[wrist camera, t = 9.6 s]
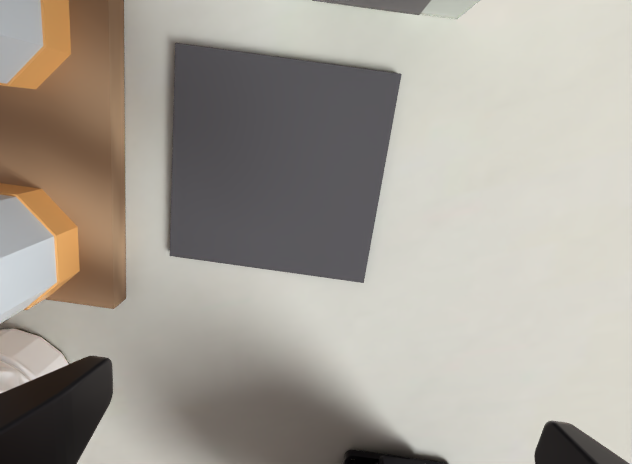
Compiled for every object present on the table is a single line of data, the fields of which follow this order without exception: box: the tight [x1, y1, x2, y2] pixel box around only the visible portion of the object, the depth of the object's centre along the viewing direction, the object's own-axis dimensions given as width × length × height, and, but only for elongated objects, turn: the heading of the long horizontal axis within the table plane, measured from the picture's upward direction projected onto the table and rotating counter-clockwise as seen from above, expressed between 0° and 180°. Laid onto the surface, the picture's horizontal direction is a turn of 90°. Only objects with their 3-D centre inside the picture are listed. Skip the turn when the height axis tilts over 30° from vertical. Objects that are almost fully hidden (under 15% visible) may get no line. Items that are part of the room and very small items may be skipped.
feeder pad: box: [170, 43, 401, 283], centre depth 18 cm, size 10×10×1 cm
